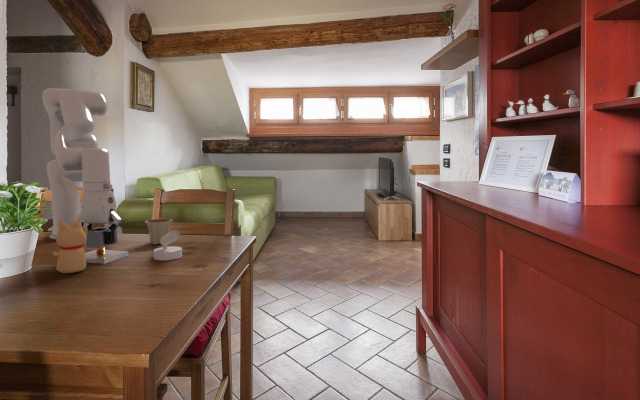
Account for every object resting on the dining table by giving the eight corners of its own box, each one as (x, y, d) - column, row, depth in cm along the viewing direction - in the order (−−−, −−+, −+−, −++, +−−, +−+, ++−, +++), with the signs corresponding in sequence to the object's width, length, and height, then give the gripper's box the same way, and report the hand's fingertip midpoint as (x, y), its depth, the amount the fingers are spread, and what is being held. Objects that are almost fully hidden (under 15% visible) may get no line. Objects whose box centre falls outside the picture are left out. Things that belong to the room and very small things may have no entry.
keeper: (72, 261, 118) (70, 234, 117) (98, 253, 128) (96, 228, 127) (104, 263, 115) (102, 236, 114) (128, 255, 125) (127, 230, 124)
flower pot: (166, 245, 140) (165, 222, 139) (141, 245, 140) (140, 222, 140) (176, 240, 150) (176, 218, 149) (153, 240, 150) (152, 218, 149)
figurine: (82, 264, 115) (79, 215, 113) (97, 270, 109) (94, 218, 107) (49, 271, 108) (45, 218, 106) (63, 277, 102) (60, 222, 101)
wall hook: (163, 232, 116) (147, 228, 122) (164, 262, 117) (148, 257, 123) (188, 228, 123) (172, 225, 129) (189, 257, 124) (173, 252, 130)
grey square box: (99, 241, 125) (98, 227, 125) (117, 243, 124) (116, 228, 123) (81, 246, 119) (80, 230, 118) (100, 248, 117) (99, 232, 116)
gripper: (129, 187, 121) (131, 242, 123) (84, 186, 125) (87, 239, 127) (110, 189, 114) (114, 247, 115) (64, 187, 118) (67, 243, 120)
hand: (100, 242), depth 121 cm, fingers closed on grey square box, 7 cm apart
